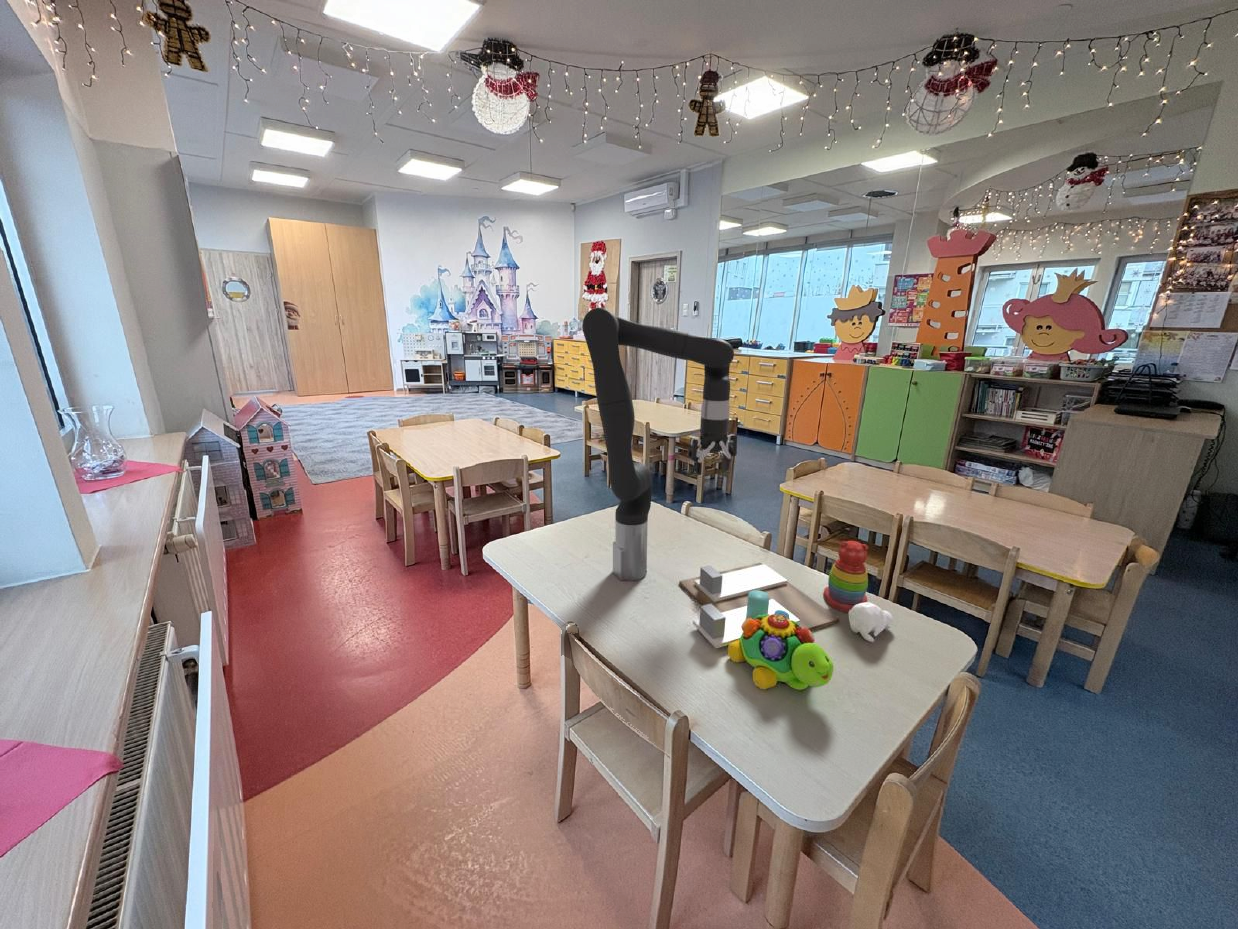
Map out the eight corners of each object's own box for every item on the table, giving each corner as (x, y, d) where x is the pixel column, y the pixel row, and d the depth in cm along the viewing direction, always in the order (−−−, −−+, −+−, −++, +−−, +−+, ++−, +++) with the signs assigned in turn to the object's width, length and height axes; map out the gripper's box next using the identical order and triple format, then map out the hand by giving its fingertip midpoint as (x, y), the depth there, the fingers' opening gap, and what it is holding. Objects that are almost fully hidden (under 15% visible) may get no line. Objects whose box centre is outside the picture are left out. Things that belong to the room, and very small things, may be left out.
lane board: (746, 650, 114) (746, 646, 114) (679, 584, 141) (679, 581, 141) (839, 622, 125) (839, 618, 124) (759, 565, 152) (760, 562, 152)
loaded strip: (716, 648, 113) (717, 625, 111) (692, 623, 122) (694, 602, 120) (799, 623, 122) (802, 602, 120) (772, 602, 131) (774, 582, 129)
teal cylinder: (754, 625, 120) (756, 603, 118) (742, 614, 124) (743, 593, 122) (771, 620, 121) (773, 599, 120) (758, 609, 126) (760, 588, 124)
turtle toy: (788, 724, 94) (795, 672, 91) (717, 650, 114) (721, 605, 111) (854, 697, 101) (863, 648, 97) (776, 632, 121) (781, 589, 117)
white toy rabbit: (848, 599, 119) (882, 591, 124) (841, 631, 121) (874, 622, 126) (872, 613, 113) (906, 604, 119) (864, 646, 115) (897, 636, 121)
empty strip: (714, 602, 131) (715, 581, 129) (694, 583, 140) (695, 564, 138) (787, 583, 140) (789, 564, 138) (764, 567, 148) (765, 548, 147)
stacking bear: (866, 598, 135) (877, 538, 130) (867, 618, 126) (878, 554, 121) (824, 588, 139) (832, 530, 134) (821, 607, 131) (830, 545, 125)
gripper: (699, 420, 129) (696, 479, 134) (745, 416, 134) (740, 473, 139) (684, 414, 136) (682, 471, 141) (729, 411, 141) (725, 466, 146)
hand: (711, 472), depth 140 cm, fingers open, 8 cm apart
